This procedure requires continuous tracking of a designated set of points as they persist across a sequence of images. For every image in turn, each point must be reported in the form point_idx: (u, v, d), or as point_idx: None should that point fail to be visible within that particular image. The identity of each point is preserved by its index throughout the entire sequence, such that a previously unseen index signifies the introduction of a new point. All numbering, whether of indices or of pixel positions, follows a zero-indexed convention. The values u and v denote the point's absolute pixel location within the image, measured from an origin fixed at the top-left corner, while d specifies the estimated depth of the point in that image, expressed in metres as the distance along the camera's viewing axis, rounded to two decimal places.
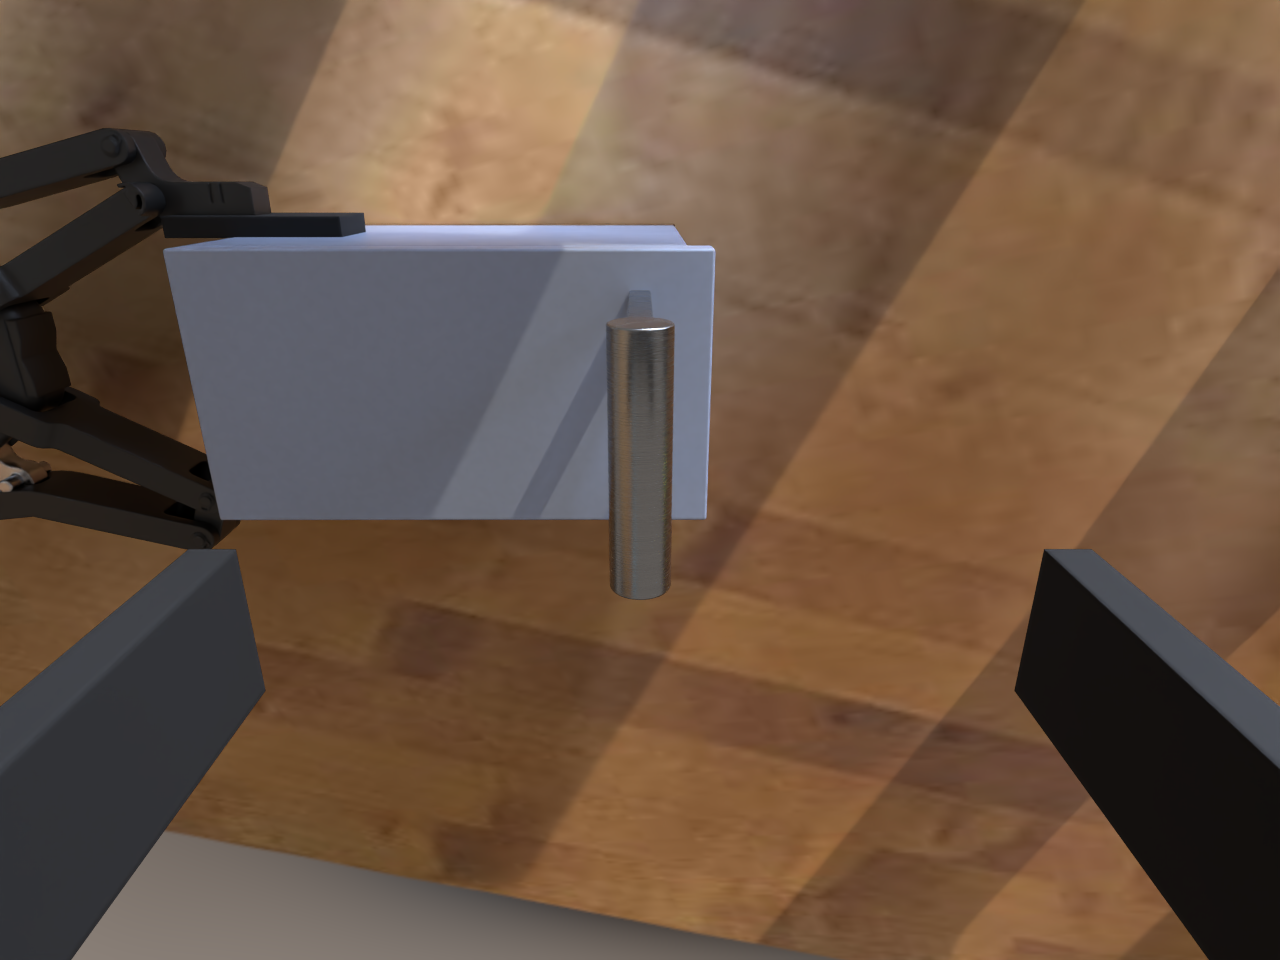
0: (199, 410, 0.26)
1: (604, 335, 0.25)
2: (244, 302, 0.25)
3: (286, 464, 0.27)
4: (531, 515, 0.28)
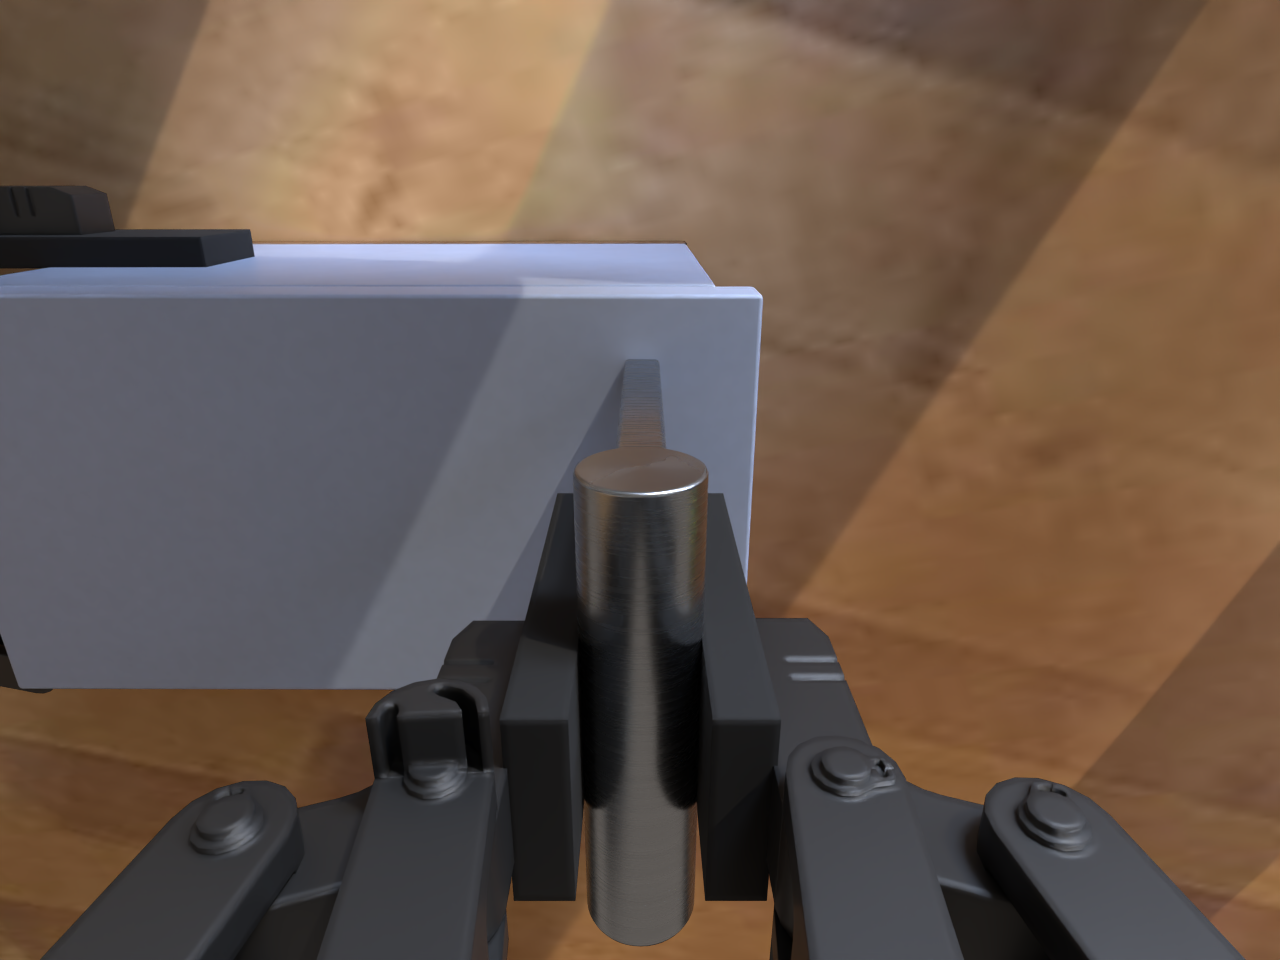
0: None
1: (586, 427, 0.16)
2: (21, 377, 0.16)
3: (110, 613, 0.18)
4: None
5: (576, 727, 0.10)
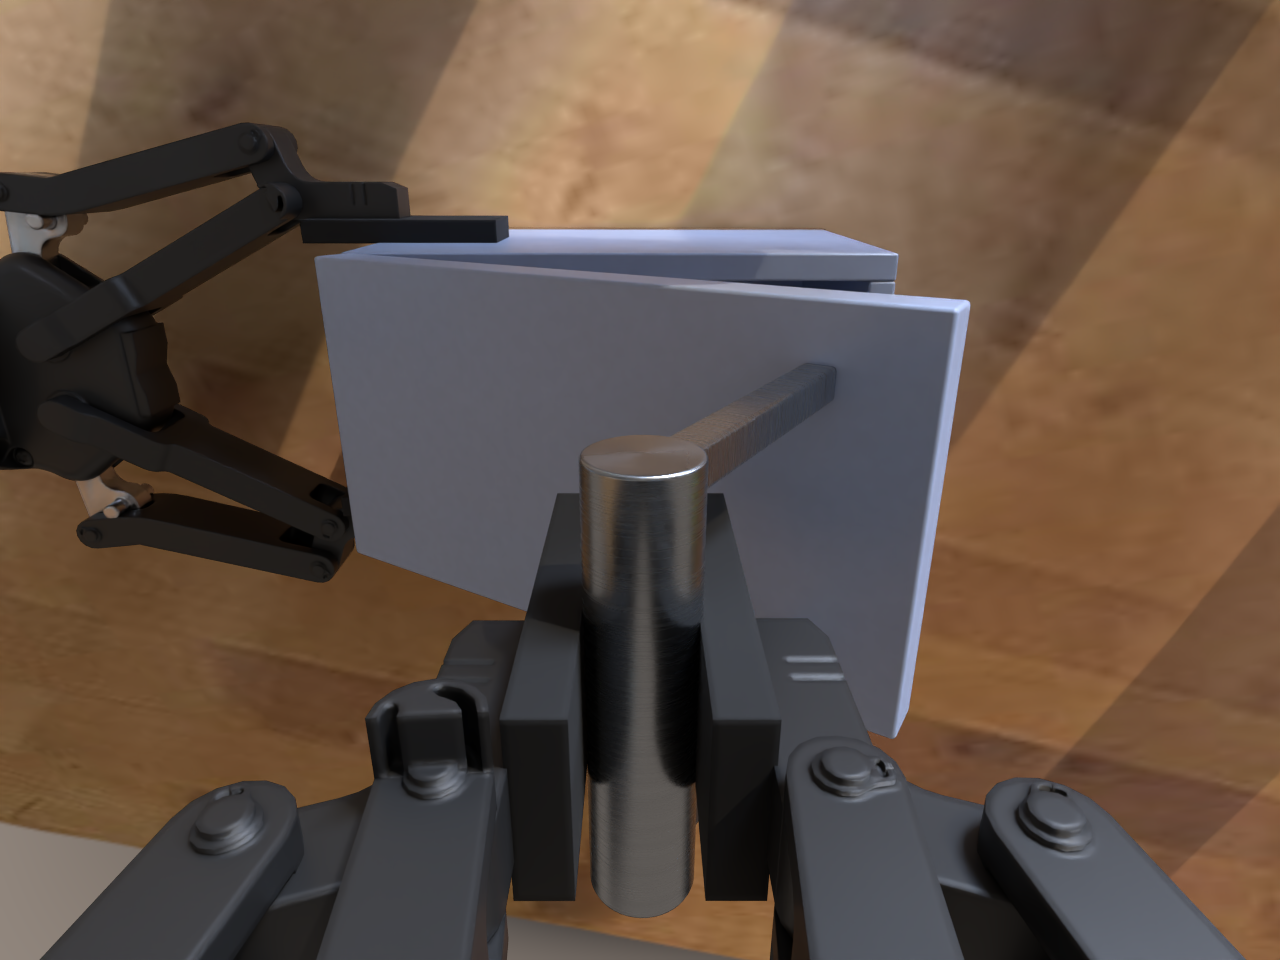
0: (341, 433, 0.24)
1: None
2: (375, 322, 0.21)
3: (408, 510, 0.23)
4: None
5: (576, 727, 0.10)
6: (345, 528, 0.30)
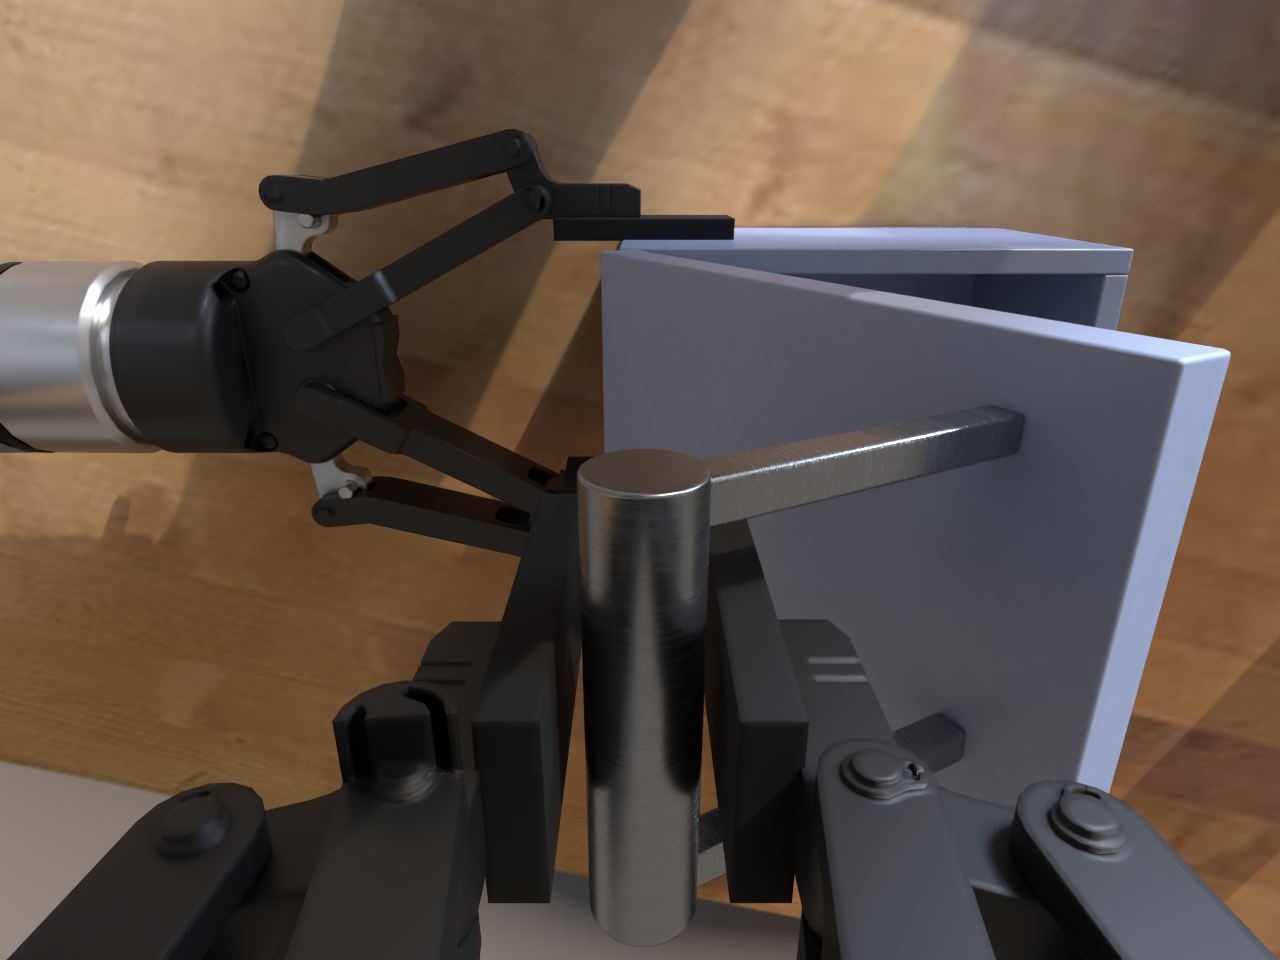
0: (604, 414, 0.26)
1: None
2: (634, 315, 0.23)
3: None
4: None
5: (551, 729, 0.10)
6: None
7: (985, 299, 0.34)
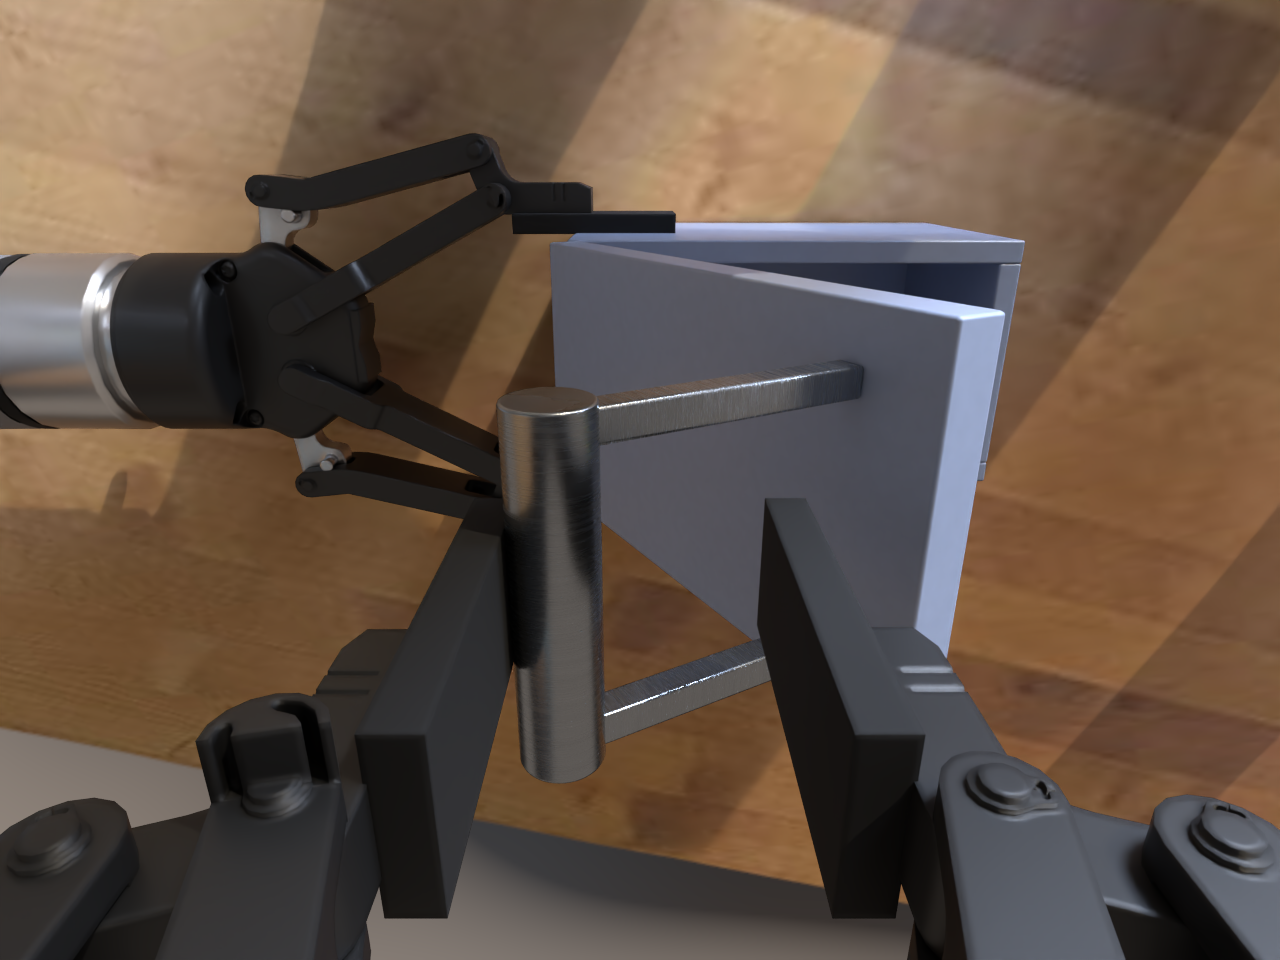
0: None
1: (809, 416, 0.17)
2: (578, 299, 0.26)
3: None
4: (724, 613, 0.22)
5: (450, 740, 0.09)
6: None
7: (914, 288, 0.37)
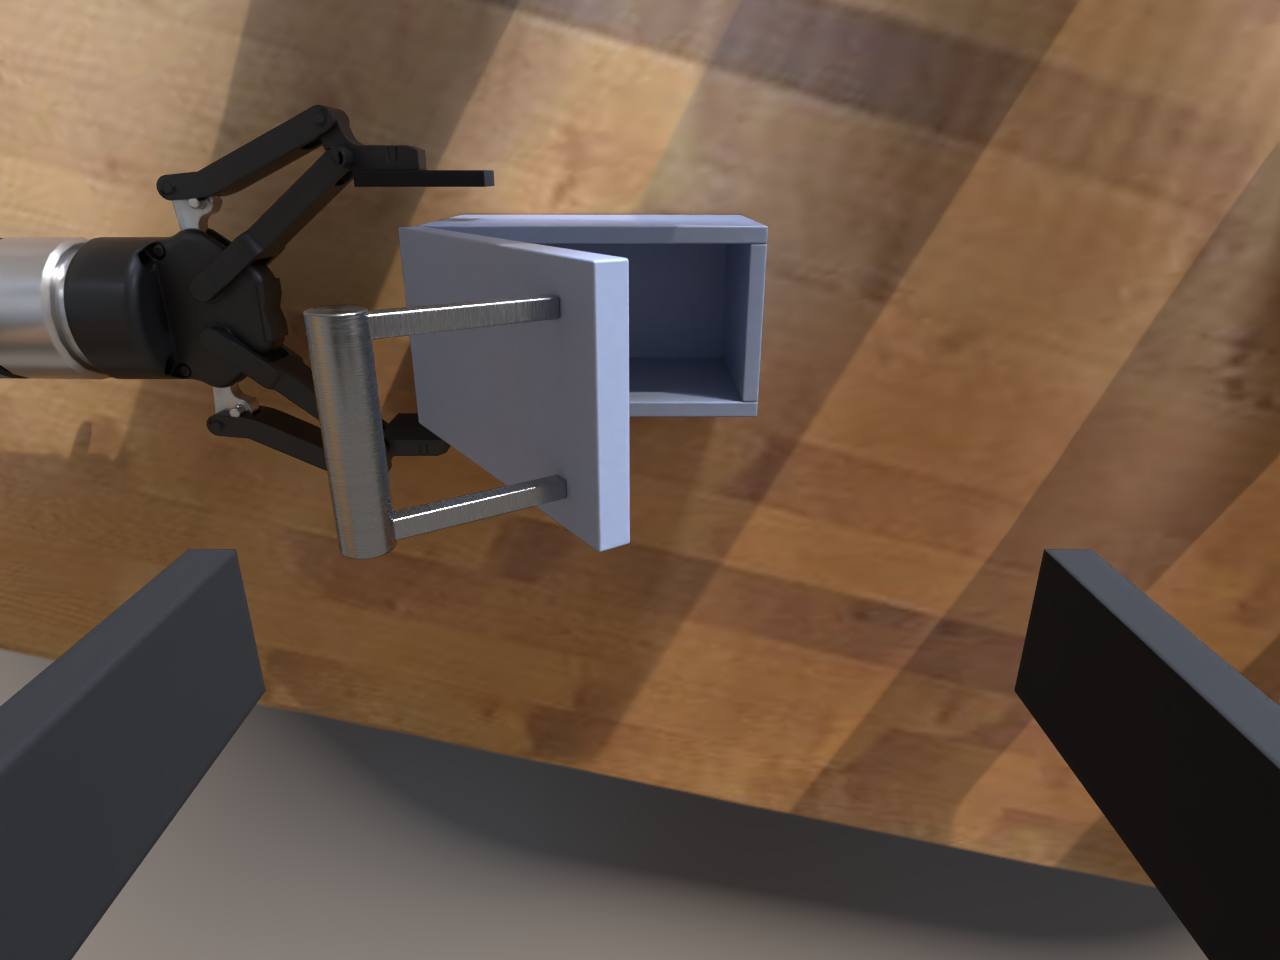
0: (410, 341, 0.37)
1: (540, 335, 0.26)
2: (418, 269, 0.34)
3: (434, 393, 0.36)
4: None
5: None
6: (387, 451, 0.44)
7: (728, 268, 0.46)
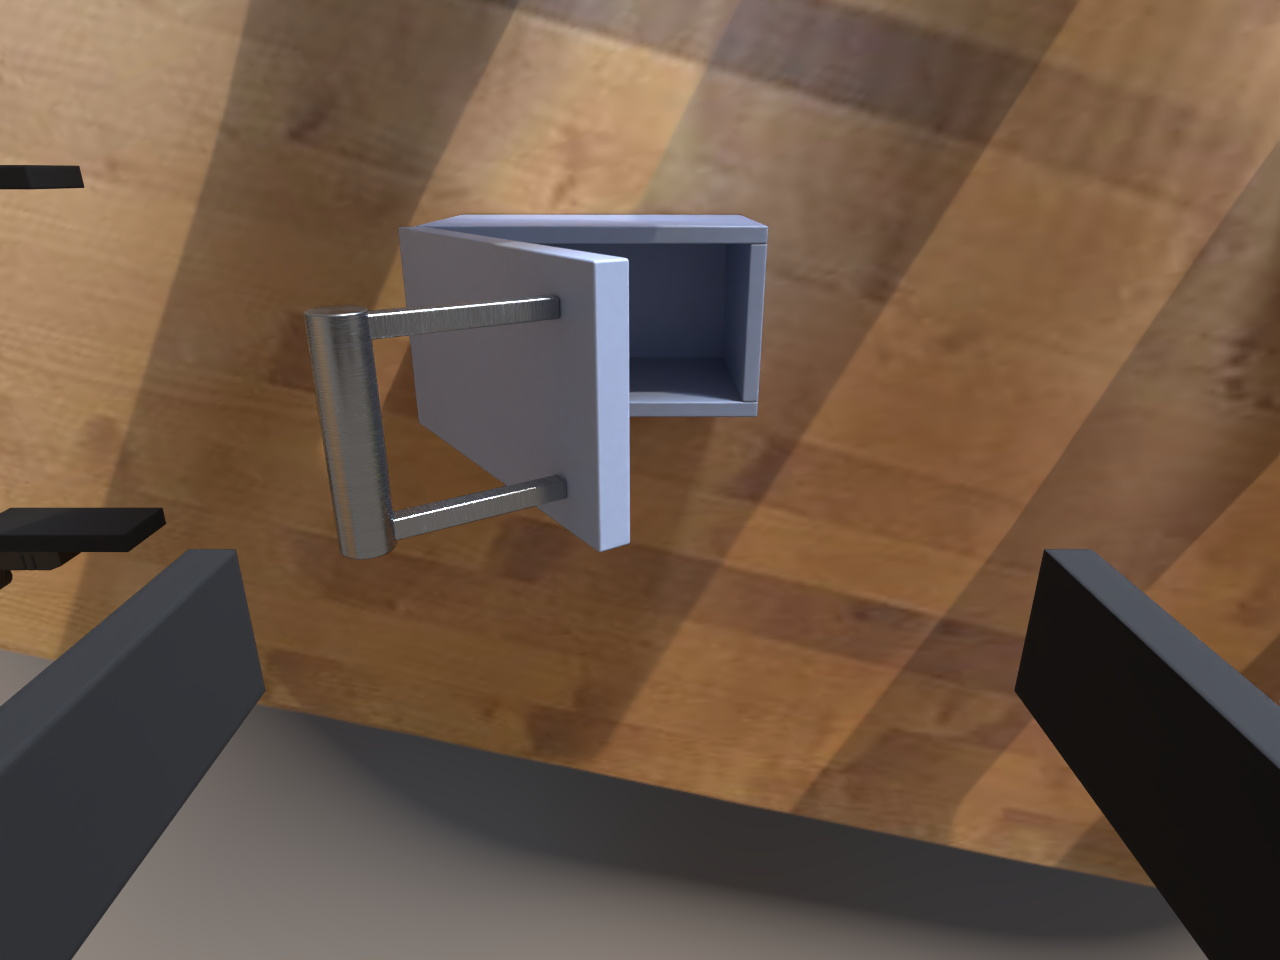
0: (410, 341, 0.37)
1: (540, 335, 0.26)
2: (418, 269, 0.34)
3: (434, 393, 0.36)
4: None
5: None
6: None
7: (728, 268, 0.46)
